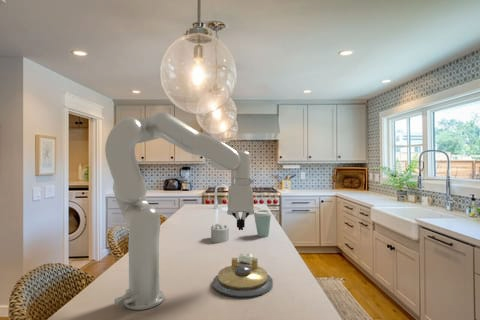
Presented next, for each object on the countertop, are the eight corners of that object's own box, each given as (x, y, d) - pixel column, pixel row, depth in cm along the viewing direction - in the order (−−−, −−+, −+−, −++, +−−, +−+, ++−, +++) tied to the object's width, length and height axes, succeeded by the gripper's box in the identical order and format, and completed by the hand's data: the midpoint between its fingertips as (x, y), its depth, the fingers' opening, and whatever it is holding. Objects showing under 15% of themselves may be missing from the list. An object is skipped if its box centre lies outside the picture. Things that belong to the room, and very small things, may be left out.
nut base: (250, 304, 93) (250, 294, 93) (200, 287, 106) (200, 278, 106) (283, 281, 110) (283, 272, 110) (236, 268, 123) (236, 261, 123)
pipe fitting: (247, 260, 136) (238, 263, 131) (248, 251, 136) (238, 254, 131) (261, 264, 131) (252, 267, 126) (261, 255, 131) (252, 257, 126)
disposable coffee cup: (272, 237, 173) (272, 212, 173) (254, 238, 173) (253, 212, 173) (270, 233, 183) (270, 209, 183) (253, 233, 183) (253, 209, 184)
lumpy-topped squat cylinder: (229, 236, 177) (229, 222, 177) (228, 242, 164) (228, 227, 164) (212, 237, 176) (211, 222, 176) (210, 243, 163) (210, 227, 163)
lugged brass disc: (266, 291, 98) (265, 275, 98) (213, 289, 100) (213, 273, 100) (268, 271, 116) (267, 257, 116) (223, 269, 118) (223, 256, 118)
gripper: (258, 181, 119) (258, 226, 119) (221, 182, 118) (221, 227, 118) (260, 183, 111) (260, 231, 111) (221, 183, 110) (221, 232, 110)
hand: (240, 229), depth 115 cm, fingers closed
